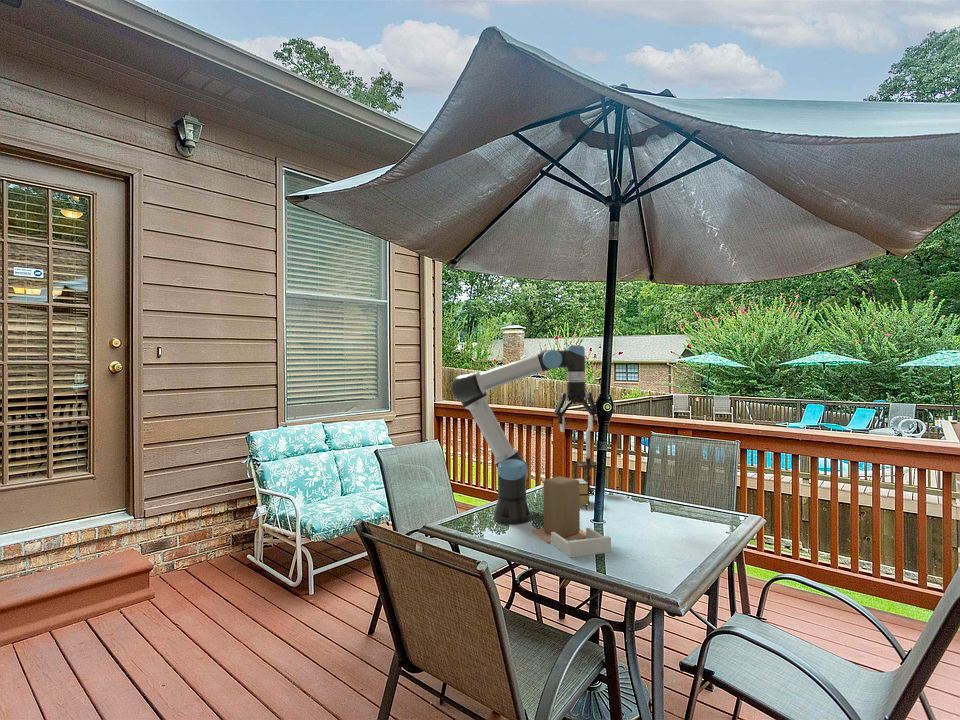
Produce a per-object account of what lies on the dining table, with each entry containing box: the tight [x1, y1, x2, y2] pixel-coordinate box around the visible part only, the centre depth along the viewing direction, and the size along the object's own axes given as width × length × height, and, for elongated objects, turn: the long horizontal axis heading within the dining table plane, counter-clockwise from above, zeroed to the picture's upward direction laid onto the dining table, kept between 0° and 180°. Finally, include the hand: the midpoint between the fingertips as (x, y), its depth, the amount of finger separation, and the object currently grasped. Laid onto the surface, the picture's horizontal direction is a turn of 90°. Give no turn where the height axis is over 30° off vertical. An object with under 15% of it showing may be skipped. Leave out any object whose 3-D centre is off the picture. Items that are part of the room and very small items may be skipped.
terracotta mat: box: [530, 527, 586, 544], centre depth 198 cm, size 18×14×1 cm
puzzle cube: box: [575, 478, 589, 505], centre depth 242 cm, size 10×10×10 cm
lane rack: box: [550, 527, 612, 558], centre depth 184 cm, size 14×15×5 cm
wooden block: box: [543, 475, 581, 538], centre depth 198 cm, size 10×10×20 cm
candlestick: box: [576, 422, 597, 496], centre depth 260 cm, size 11×11×35 cm
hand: (576, 431), depth 227 cm, fingers open, 13 cm apart
